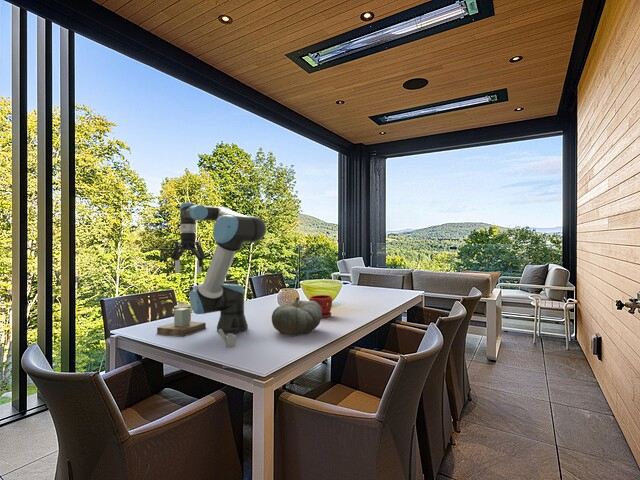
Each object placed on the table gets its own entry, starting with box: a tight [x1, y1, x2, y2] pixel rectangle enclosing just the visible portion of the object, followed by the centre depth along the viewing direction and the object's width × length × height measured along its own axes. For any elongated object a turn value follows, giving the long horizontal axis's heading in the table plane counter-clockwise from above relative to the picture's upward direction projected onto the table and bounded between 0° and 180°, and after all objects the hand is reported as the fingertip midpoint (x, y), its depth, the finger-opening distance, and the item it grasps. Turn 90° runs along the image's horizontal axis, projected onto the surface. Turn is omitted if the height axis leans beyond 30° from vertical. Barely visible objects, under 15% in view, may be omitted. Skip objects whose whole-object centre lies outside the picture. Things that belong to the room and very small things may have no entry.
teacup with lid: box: [173, 300, 192, 321], centre depth 194 cm, size 12×9×12 cm
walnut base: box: [156, 320, 207, 337], centre depth 173 cm, size 16×16×3 cm
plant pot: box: [309, 294, 333, 319], centre depth 204 cm, size 13×13×12 cm
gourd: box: [271, 297, 323, 337], centre depth 168 cm, size 25×25×17 cm
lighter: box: [218, 328, 237, 349], centre depth 146 cm, size 7×2×8 cm, turn 122°
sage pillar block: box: [173, 308, 190, 326], centre depth 173 cm, size 5×5×8 cm
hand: (188, 272), depth 181 cm, fingers open, 13 cm apart
